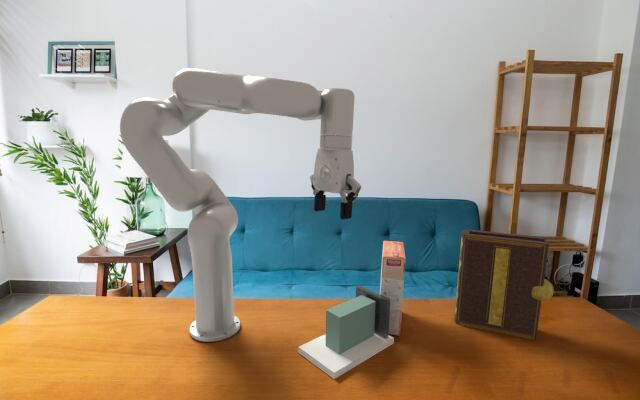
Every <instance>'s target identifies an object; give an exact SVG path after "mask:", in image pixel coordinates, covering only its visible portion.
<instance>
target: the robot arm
mask: <svg viewBox="0 0 640 400" xmlns="http://www.w3.org/2000/svg"><path fill="white" fill-rule="evenodd" d="M171 84H172V85H171V86H172V92H173V93H172V94H171V95H170V96H168V97H167V98H166V99H165V100H162V99H157V98H152V97H142V98H137V99H134V100H133V101H131V102H130V103H129V104H128V105H127V106H126V107H125V109H124V110H123V112H122V115H121V118H120V122H119V123H120V124H119V132H120V137H121V140H122V142H123V145H124V147H125V149H126V150H127V152H128V153H129V155H130V156H131V157H132V159H133V160H134V161H135V162H136V164H137V165H138V166H139V167H140V169H142V170H143V173H145V174H146V177H147V178H148V179H149V180H150V181H151V183H152V184H153V186H154V187H155V188H156V190H157V191H158V193H160V195H161V196H162V198H163V199H164V200H165V201H166V202H167V204H168V205H169V206H170V207H171V208H172V209H174V210H175V211H178V212H180V213H181V212H183V213H185V212H189V211H193V212H194V214H195V215H194V216H193V217H192V219H191V220H190V222H189V225H188V228H187V242H188V246H189V250H190V255H191V265H192V266H191V267H192V269H191V270H192V279H193V281H192V282H193V298H194V300H193V301H194V316H195V320H193V322H192V323H191V324H190V325H189V335H190V337H191V338H192V339H194V340H196V341H199V342H205V343H206V342H207V343H209V342H211V343H213V342H219V341H223V340H226V339H229V338H231V337H232V336H234V335H235V334H237V332H238V331H239V330H240V328H241V320H240V319H239V317H238V316H236V315H235V311H234V310H235V309H234V308H235V307H234V282H233V281H234V279H233V273H234V272H233V258H232V256H233V255H232V251H231V250H232V249H231V246H230V244H231V243H230V238H231V236H232V235H233V233H234V232H235V230H236V229H237V226H238V224H239V216H238V212H237V210H236V208H235V207H234V206H233V204H232V203H231V202H230V200H229V199H228V197H227V196H226V194H225V193H224V192H223V190H222V189H221V187H219V185H218V184H217V183H216V181H215V180H214V178H213V177H212V176H210V175H209V174H208V173H207V172H206V171H204V170H202V169H195V168H191V169H190V168H189V167H188V166H187V165H186V163H185V162H184V161H183V159H182V158H181V157H180V155H179V154H178V153H177V151H176V150H175V149H174V148H173V146H171V145H169V144H168V142H166V140H165V139H164V136H165V137H170V136H175V135H177V134H179V133H181V132H182V131H184V130H186V129H187V128H188V127H189V126H191V125H192V124H193V123H195V122H196V121H197V120H199V119H200V118H202V117H203V116H204V115H206V114H207V113H208V112H209V111H210V110H212V111H213V110H214V111H219V112H227V113H233V114H234V113H235V114H240V115H251V114H262V115H263V114H265V115H272V116H279V117H280V116H281V117H286V118H293V119H298V120H299V121H305V122H306V121H316V120H320V132H319V133H320V135H319V148H318V149H317V152H316V155H315V156H316V157H315V162H314V168H313V174H312V175H310V176H309V179H310V184H311V189H312V190H313V192H312V193H313V196H314V201H313V203H314V204H313V206H314V207H313V211H314V212H323V211H325V210H326V200H327V195H326V194H325V193H326V192H327V193H332V194H339V195H340V198H341V202H340V211H339V213H340V214H339V218H340V220H348V219H349V220H350V219H352V217H353V203H354V202H355V200H356V199H357V198H358V196H359V193H360V191H361V189H362V184H361V183H360V182H358V181H357V180H356V179H355V178H354V177H355V164H354V153H353V150H352V145H353V129H354V112H355V94H354V92H353V90H350V89H347V88H339V87H337V88H332V87H331V88H327V89H324V90H318V89H317V88H316V87H315V86H314V85H312V84H310V83H306V82H303V81H296V80H288V79H282V78H275V77H274V78H272V77H263V76H253V75H242V74H235V73H227V72H220V71H213V70H208V69H200V68H191V67H190V68H183V69H181V70H180V71H178V72H177V73H176V74H175V75H174V77H173V79H172V83H171Z"/></svg>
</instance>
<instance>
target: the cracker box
mask: <svg viewBox="0 0 640 400" xmlns="http://www.w3.org/2000/svg"><path fill="white" fill-rule="evenodd" d="M405 252H406V251H405V243H404V241H392V240H390V241H389V240H383V243H382V254H381V267H380V268H381V269H380V283H379V284H380V285H379V287H380V288H379V294H380V295H382V296H384V297H387V298H389V299H390V314H389V334H388V335H390V336H398V337H400V336H401V329H402V328H401V327H402V315H403V314H402V312H403V300H404V298H403V297H404V285H405V274H406V273H405V271H406V253H405Z"/></svg>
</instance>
